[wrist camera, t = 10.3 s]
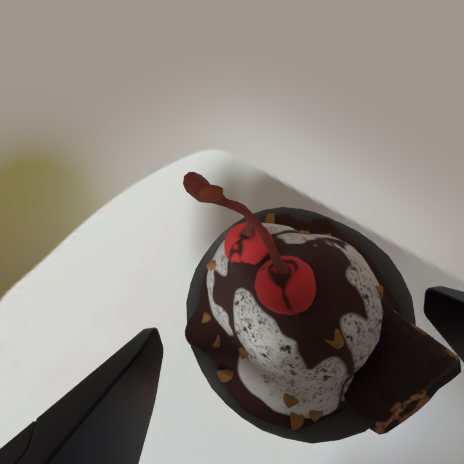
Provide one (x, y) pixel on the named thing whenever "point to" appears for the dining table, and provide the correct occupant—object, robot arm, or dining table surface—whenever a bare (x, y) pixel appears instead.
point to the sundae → (308, 326)
